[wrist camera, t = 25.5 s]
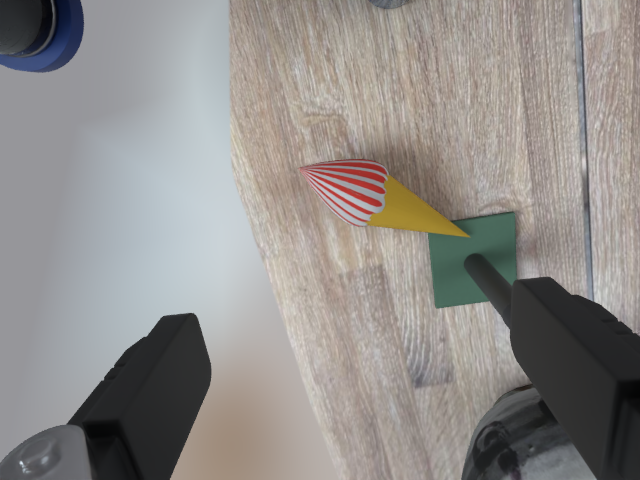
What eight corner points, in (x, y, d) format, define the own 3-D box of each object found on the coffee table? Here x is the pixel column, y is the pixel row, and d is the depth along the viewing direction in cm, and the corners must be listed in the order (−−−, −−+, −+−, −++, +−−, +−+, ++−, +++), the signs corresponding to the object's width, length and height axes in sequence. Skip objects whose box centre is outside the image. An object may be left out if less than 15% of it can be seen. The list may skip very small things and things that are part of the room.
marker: (457, 263, 43) (510, 334, 30) (475, 247, 42) (537, 312, 29) (473, 278, 44) (532, 354, 30) (491, 262, 43) (560, 332, 30)
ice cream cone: (449, 229, 46) (291, 166, 41) (488, 199, 41) (315, 122, 36) (452, 275, 43) (280, 212, 37) (496, 247, 38) (305, 170, 32)
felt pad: (435, 306, 46) (436, 308, 45) (427, 225, 43) (428, 226, 42) (515, 295, 45) (517, 297, 44) (512, 211, 42) (515, 212, 41)
